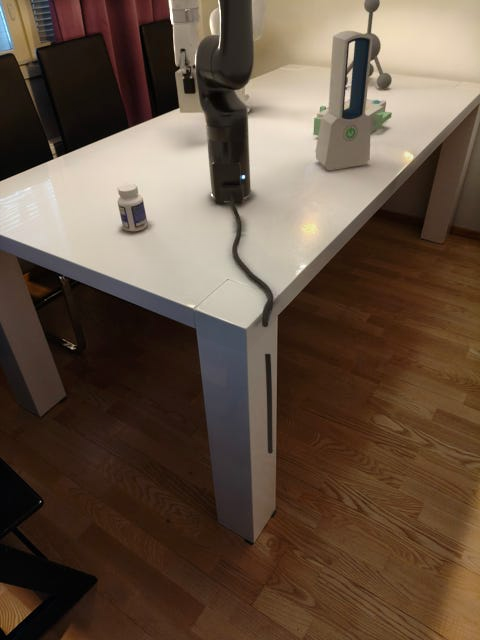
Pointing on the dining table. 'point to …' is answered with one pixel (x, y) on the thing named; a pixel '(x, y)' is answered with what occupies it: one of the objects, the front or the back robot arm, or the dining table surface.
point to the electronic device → (352, 123)
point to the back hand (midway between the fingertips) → (192, 90)
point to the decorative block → (373, 111)
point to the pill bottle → (131, 208)
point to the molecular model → (374, 48)
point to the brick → (187, 95)
